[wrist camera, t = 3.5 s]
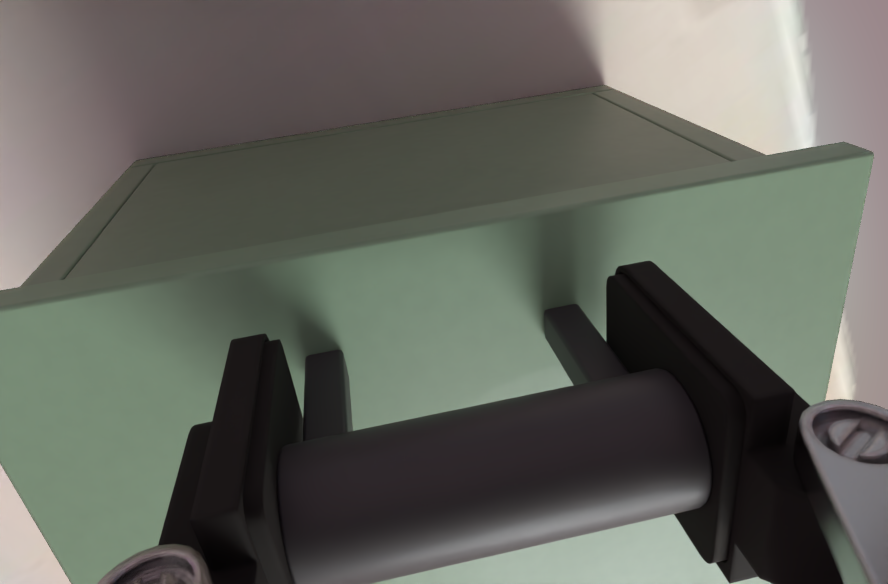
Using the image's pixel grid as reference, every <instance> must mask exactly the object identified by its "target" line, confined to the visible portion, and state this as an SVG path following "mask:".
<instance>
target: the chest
mask: <svg viewBox="0 0 888 584" xmlns="http://www.w3.org/2000/svg"><path fill="white" fill-rule="evenodd" d="M760 156H766V155H765V154H763V153H760V152H758V151H756V150H753V149H751V148H749V147H746V146H744V145H742V144H740V143H737V142H735V141H733V140H730V139H728V138H726V137H723V136H721V135H719V134H717V133H714V132H712V131H710V130H707V129H705V128H703V127H701V126H698V125H696V124H694V123H691V122H689V121H687V120H684V119H682V118H680V117H678V116H675V115H673V114H671V113H668V112H666V111H664V110H661V109H659V108H657V107H655V106H652V105H650V104H648V103H645V102H643V101H641V100H638V99H636V98H634V97H632V96H629V95H627V94H625V93H622V92H620V91H618V90H615V89H613V88H611V87H609V86H606V85H602V86H596V87H590V88H584V89H577V90H571V91H565V92H559V93H552V94H546V95H540V96H534V97H528V98H521V99H515V100H509V101H503V102H497V103H490V104H484V105H478V106H472V107H466V108H459V109H453V110H447V111H441V112H435V113H428V114H422V115H416V116H410V117H404V118H397V119H391V120H385V121H379V122H373V123H366V124H360V125H354V126H348V127H342V128H335V129H329V130H323V131H317V132H310V133H304V134H298V135H292V136H286V137H279V138H273V139H267V140H261V141H255V142H248V143H242V144H236V145H230V146H224V147H217V148H211V149H205V150H199V151H193V152H186V153H180V154H174V155H168V156H162V157H155V158H149V159H143V160H137V161H135V162H134V163H133V164H132V165H131V166H130V167H129V169H127V170H126V171H125V173H124V174H123V175H122V176H121V177H120V178H119V179H118V180H117V181H116V182H115V183H114V185H113V186H112V187H111V188H110V189H109V190H108V191H107V192H106V193H105V194H104V195H103V197H102V198H101V199H100V200H99V201H98V202H97V203H96V204H95V205H94V206H93V208H92V209H91V210H90V211H89V212H88V213H87V214H86V215H85V216H84V217H83V218H82V220H81V221H80V222H79V223H78V224H77V225H76V226H75V227H74V228H73V229H72V230H71V232H70V233H69V234H68V235H67V236H66V237H65V238H64V239H63V240H62V241H61V243H60V244H59V245H58V246H57V247H56V248H55V249H54V250H53V251H52V252H51V253H50V255H49V256H48V257H47V258H46V259H45V260H44V261H43V262H42V263H41V264H40V265H39V267H38V268H37V269H36V270H35V271H34V272H33V273H32V274H31V275H30V276H29V278H28V279H27V280H26V281H25V282H24V283H23V284H22V285H21V286H20V287H23V286H29V285H35V284H40V283H46V282H52V281H57V280H63V279H69V278H74V277H80V276H86V275H91V274H97V273H103V272H108V271H114V270H120V269H125V268H131V267H137V266H142V265H148V264H154V263H159V262H165V261H171V260H176V259H182V258H188V257H193V256H199V255H205V254H210V253H216V252H222V251H227V250H233V249H239V248H244V247H250V246H256V245H261V244H267V243H273V242H278V241H284V240H290V239H295V238H301V237H307V236H312V235H318V234H324V233H329V232H335V231H341V230H346V229H352V228H358V227H363V226H369V225H375V224H380V223H386V222H392V221H397V220H403V219H409V218H415V217H420V216H426V215H432V214H437V213H443V212H449V211H454V210H460V209H466V208H471V207H477V206H483V205H488V204H494V203H500V202H505V201H511V200H517V199H522V198H528V197H534V196H539V195H545V194H551V193H556V192H562V191H568V190H573V189H579V188H585V187H590V186H596V185H602V184H607V183H613V182H619V181H624V180H630V179H636V178H641V177H647V176H653V175H658V174H664V173H670V172H675V171H681V170H687V169H692V168H698V167H704V166H709V165H715V164H721V163H726V162H732V161H738V160H743V159H749V158H755V157H760Z"/></svg>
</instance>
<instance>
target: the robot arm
mask: <svg viewBox="0 0 888 584" xmlns="http://www.w3.org/2000/svg"><path fill="white" fill-rule="evenodd" d="M606 342H607V344H608V345H609V346H610V348H611V349H612V350H613V352H614V353H615V354H616V356H617V357H618V358H619V360H620V361H621V362H622V364H623V365H624V366H625V367H626V369H627V370H628V371H629V373H630V374H631V373H636V372H641V371H646V370H650V369H663V370H666V371H668V372H669V373H671V374H672V375H673V376H674V377H675V378H676V379H677V380H678V381H679V382H680V383H681V384H682V386H683V387H684V389H685V390H686V392H687V393H688V395H689V396H690V398H691V400H692V402H693V404H694V406H695V408H696V410H697V412H698V415H699V417H700V420H701V422H702V425H703V428H704V431H705V435H706V438H707V442H708V446H709V451H710V457H711V464H712V488H711V493H710V496H709V499H708V500H707V502H706V503H705V504H704V505H703V506H702V507H700V508H698V509H694V510H690V511H685V512H681V513H677V514H674V515H675V517H676V518H677V520H678V521H679V523H680V524H681V526H682V528H683V529H684V531H685V532H686V534H687V535H688V537H689V538H690V540H691V542H692V543H693V545H694V546H695V548H696V549H697V551H698V553H699V554H700V556H701V557H702V558H703V560H704V561H705V562H707V563H709V564H712V563H716V564H717V565H718V567H719V568H720V570H721V571H722V573H723V574H724V576H725V578H726V579H727V581H728V582H729V584H730V583H734V582H738V581H743V580H747V579H751V578H755V577H759V578H760V579H762V580H765V581H767V582H770V583H771V584H888V410H887V409H885V408H882V407H880V406H877V405H873V404H869V403H865V402H861V401H854V400H843V399H838V400H826V401H822V402H819V403H816V404H813V405H811V406H810V405H809V404H808V403H807V402H806V401H805V400H804V399H803V398H801V397H800V396H799V395H798V394H797V393H796V392H795V390H794V389H793V388H792V387H791V386H789V385H788V384H787V383H786V382H785V381H784V380H783V379H782V378H781V377H779V376H778V375H777V374H776V373H775V372H774V371H773V370H772V369H771V368H770V367H768V366H767V365H766V364H765V363H764V362H763V361H762V360H761V359H760V358H758V357H757V356H756V355H755V354H754V353H753V352H752V351H751V350H750V349H749V348H747V347H746V346H745V345H744V344H743V343H742V342H741V341H740V340H739V339H737V338H736V337H735V336H734V335H733V334H732V333H731V332H730V331H729V330H728V329H726V328H725V327H724V326H723V325H722V324H721V323H720V322H719V321H718V320H716V319H715V318H714V317H713V316H712V315H711V314H710V313H709V312H708V311H707V310H705V309H704V308H703V307H702V306H701V305H700V304H699V303H698V302H697V301H695V300H694V299H693V298H692V297H691V296H690V295H689V294H688V293H687V292H686V291H684V290H683V289H682V288H681V287H680V286H679V285H678V284H677V283H676V282H674V281H673V280H672V279H671V278H670V277H669V276H668V275H667V274H666V273H665V272H663V271H662V270H661V269H660V268H659V267H658V266H657V265H656V264H655V263H653V262H652V261H644V262H638V263H633V264H628V265H622V266H618V268H617V269H616V272H615V275H613V276H609V277H608V278H607V283H606ZM302 441H303V416H302V413H301V409H300V405H299V402H298V398H297V395H296V391H295V388H294V384H293V381H292V377H291V374H290V370H289V367H288V363H287V360H286V356H285V353H284V349H283V346H282V343H281V341H280V339H277V340H272V341H269V338H268V336H267V335H266V334H265V333H264V334H258V335H253V336H248V337H243V338H237V339H233V340H231V342H230V346H229V351H228V355H227V359H226V364H225V368H224V372H223V377H222V381H221V385H220V390H219V394H218V398H217V403H216V407H215V411H214V416H213V420H212V421H211V422H206V423H201V424H196V425H194V426H193V427H191V429H190V432H189V434H188V438H187V441H186V445H185V449H184V452H183V456H182V460H181V463H180V467H179V471H178V474H177V478H176V482H175V485H174V489H173V492H172V496H171V500H170V503H169V507H168V511H167V514H166V518H165V522H164V525H163V529H162V533H161V536H160V540H159V544H158V546H155V547H152V548H149V549H146V550H143V551H140V552H138V553H136V554H134V555H132V556H131V557H129V558H127V559H125V560H124V561H122V562H120V563H119V564H118V565H117V566H115V567H114V568H113V569H112V570H110V571H109V572H108V573H107V574H106V575H104V576H103V578H102V579H101V580H100V581H99V582H98V584H294V583H293V581H292V578H291V574H290V571H289V567H288V564H287V559H286V555H285V550H284V545H283V539H282V533H281V526H280V519H279V509H278V496H277V466H278V458H279V454H280V450H281V449H282V447H284V446H285V445H287V444H292V443H297V442H302Z"/></svg>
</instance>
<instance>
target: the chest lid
mask: <svg viewBox="0 0 888 584" xmlns="http://www.w3.org/2000/svg"><path fill="white" fill-rule="evenodd" d="M873 158H874V154H873V152H872V151H869V150H866V149H864V148H860V147H858V146H855V145H852V144H849V143H846V142H840V143H835V144H828V145H823V146H817V147H811V148H806V149H800V150H794V151H789V152H783V153H777V154H772V155H766V156H760V157H755V158H749V159H743V160H738V161H732V162H726V163H721V164H715V165H709V166H704V167H698V168H692V169H687V170H681V171H675V172H670V173H664V174H658V175H653V176H647V177H641V178H636V179H630V180H624V181H619V182H613V183H607V184H602V185H596V186H590V187H585V188H579V189H573V190H568V191H562V192H556V193H551V194H545V195H539V196H534V197H528V198H522V199H517V200H511V201H505V202H500V203H494V204H488V205H483V206H477V207H471V208H466V209H460V210H454V211H449V212H443V213H437V214H432V215H426V216H420V217H415V218H409V219H403V220H397V221H392V222H386V223H380V224H375V225H369V226H363V227H358V228H352V229H346V230H341V231H335V232H329V233H324V234H318V235H312V236H307V237H301V238H295V239H290V240H284V241H278V242H273V243H267V244H261V245H256V246H250V247H244V248H239V249H233V250H227V251H222V252H216V253H210V254H205V255H199V256H193V257H188V258H182V259H176V260H171V261H165V262H159V263H154V264H148V265H142V266H137V267H131V268H125V269H120V270H114V271H108V272H103V273H97V274H91V275H86V276H80V277H74V278H69V279H63V280H57V281H52V282H46V283H40V284H35V285H29V286H23V287H18V288H12V289H6V290H1V291H0V464H1V466H2V467H3V469H4V471H5V472H6V474H7V476H8V477H9V479H10V481H11V482H12V484H13V486H14V488H15V489H16V491H17V493H18V494H19V496H20V498H21V499H22V501H23V503H24V504H25V506H26V508H27V510H28V511H29V513H30V515H31V516H32V518H33V520H34V521H35V523H36V525H37V526H38V528H39V530H40V532H41V533H42V535H43V537H44V538H45V540H46V542H47V543H48V545H49V547H50V548H51V550H52V552H53V554H54V555H55V557H56V559H57V560H58V562H59V564H60V565H61V567H62V569H63V570H64V572H65V574H66V576H67V577H68V579H69V581H70V582H71V584H98V582H99V581H100V580H101V579H102V578H103V576H104V575H106V574H107V573H108V572H109V571H110V570H112V569H113V568H114V567H115V566H117V565H118V564H119V563H120V562H122V561H124V560H125V559H127V558H129V557H131V556H132V555H134V554H136V553H138V552H140V551H143V550H146V549H149V548H152V547H155V546H158V544H159V540H160V536H161V533H162V529H163V525H164V522H165V518H166V514H167V511H168V507H169V503H170V500H171V496H172V492H173V489H174V485H175V482H176V478H177V474H178V471H179V467H180V463H181V460H182V456H183V452H184V449H185V445H186V441H187V438H188V434H189V432H190V429H191V427H193V426H194V425H196V424H201V423H206V422H211V421H212V420H213V416H214V411H215V407H216V403H217V398H218V394H219V390H220V385H221V381H222V377H223V372H224V368H225V364H226V359H227V355H228V351H229V346H230V342H231V340H233V339H237V338H243V337H248V336H253V335H258V334H264V333H265V334H266V335H267V336H268V338H269V341H272V340H277V339H280V341H281V343H282V346H283V349H284V353H285V356H286V360H287V363H288V367H289V370H290V374H291V377H292V381H293V384H294V388H295V391H296V395H297V398H298V402H299V405H300V409H301V413H302V416H303V441H302V442H297V443H292V444H287V445H285V446H284V447H282V449H281V450H280V454H279V458H278V466H277V496H278V509H279V519H280V526H281V533H282V539H283V545H284V550H285V555H286V559H287V564H288V567H289V571H290V574H291V578H292V581H293V583H294V584H729V582H728V581H727V579H726V578H725V576H724V574H723V573H722V571H721V570H720V568H719V567H718V565H717V564H716V563H712V564H709V563H707V562H705V561H704V560H703V558H702V557H701V556H700V554H699V553H698V551H697V549H696V548H695V546H694V545H693V543H692V542H691V540H690V538H689V537H688V535H687V534H686V532H685V531H684V529H683V528H682V526H681V524H680V523H679V521H678V520H677V518H676V517H675V515H674V514H677V513H681V512H685V511H690V510H694V509H698V508H700V507H702V506H703V505H704V504H705V503H706V502H707V500H708V499H709V496H710V493H711V488H712V464H711V457H710V451H709V446H708V442H707V438H706V435H705V431H704V428H703V425H702V422H701V420H700V417H699V415H698V412H697V410H696V408H695V406H694V404H693V402H692V400H691V398H690V396H689V395H688V393H687V392H686V390H685V389H684V387H683V386H682V384H681V383H680V382H679V381H678V380H677V379H676V378H675V377H674V376H673V375H672V374H671V373H669V372H668V371H666V370H663V369H650V370H646V371H641V372H636V373H631V374H630V373H629V371H628V370H627V369H626V367H625V366H624V365H623V364H622V362H621V361H620V360H619V358H618V357H617V356H616V354H615V353H614V352H613V350H612V349H611V348H610V346H609V345H608V344H607V342H606V283H607V278H608V277H609V276H613V275H615V272H616V269H617V268H618V266H622V265H628V264H633V263H638V262H644V261H652V262H653V263H655V264H656V265H657V266H658V267H659V268H660V269H661V270H662V271H663V272H665V273H666V274H667V275H668V276H669V277H670V278H671V279H672V280H673V281H674V282H676V283H677V284H678V285H679V286H680V287H681V288H682V289H683V290H684V291H686V292H687V293H688V294H689V295H690V296H691V297H692V298H693V299H694V300H695V301H697V302H698V303H699V304H700V305H701V306H702V307H703V308H704V309H705V310H707V311H708V312H709V313H710V314H711V315H712V316H713V317H714V318H715V319H716V320H718V321H719V322H720V323H721V324H722V325H723V326H724V327H725V328H726V329H728V330H729V331H730V332H731V333H732V334H733V335H734V336H735V337H736V338H737V339H739V340H740V341H741V342H742V343H743V344H744V345H745V346H746V347H747V348H749V349H750V350H751V351H752V352H753V353H754V354H755V355H756V356H757V357H758V358H760V359H761V360H762V361H763V362H764V363H765V364H766V365H767V366H768V367H770V368H771V369H772V370H773V371H774V372H775V373H776V374H777V375H778V376H779V377H781V378H782V379H783V380H784V381H785V382H786V383H787V384H788V385H789V386H791V387H792V388H793V389H794V390H795V392H796V393H797V394H798V395H799V396H800V397H801V398H803V399H804V400H805V401H806V402H807V403H808V404H809V405H810V406H811V405H813V404H816V403H819V402H822V401H825V398H826V393H827V388H828V383H829V378H830V373H831V368H832V363H833V358H834V353H835V348H836V343H837V338H838V333H839V328H840V323H841V318H842V313H843V308H844V303H845V298H846V293H847V288H848V283H849V278H850V273H851V268H852V262H853V258H854V253H855V248H856V243H857V238H858V233H859V227H860V223H861V218H862V213H863V208H864V203H865V198H866V193H867V188H868V183H869V178H870V173H871V168H872V163H873ZM730 584H771V583H770V582H767V581H765V580H762V579H760V578H759V577H755V578H751V579H747V580H743V581H738V582H734V583H730Z"/></svg>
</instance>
